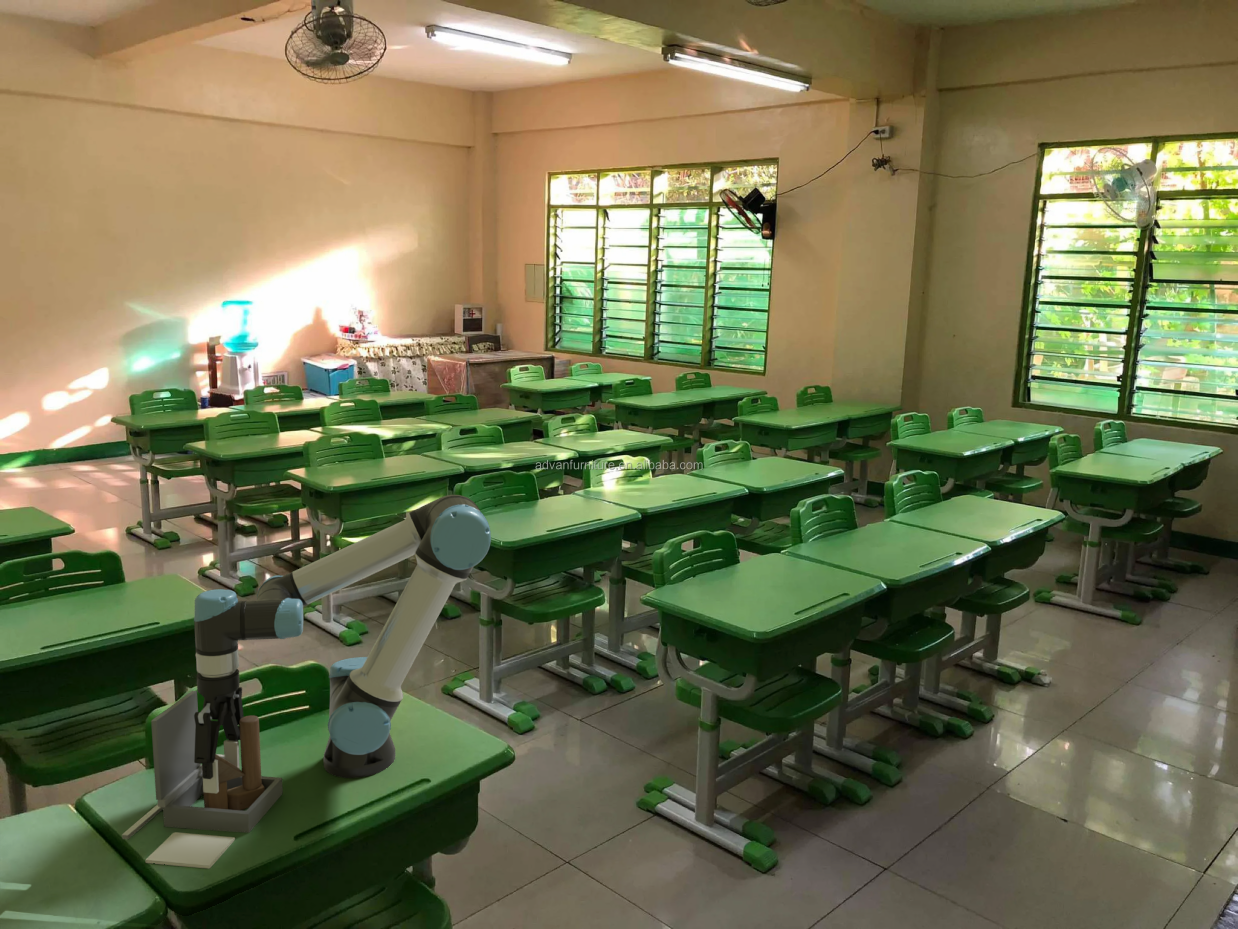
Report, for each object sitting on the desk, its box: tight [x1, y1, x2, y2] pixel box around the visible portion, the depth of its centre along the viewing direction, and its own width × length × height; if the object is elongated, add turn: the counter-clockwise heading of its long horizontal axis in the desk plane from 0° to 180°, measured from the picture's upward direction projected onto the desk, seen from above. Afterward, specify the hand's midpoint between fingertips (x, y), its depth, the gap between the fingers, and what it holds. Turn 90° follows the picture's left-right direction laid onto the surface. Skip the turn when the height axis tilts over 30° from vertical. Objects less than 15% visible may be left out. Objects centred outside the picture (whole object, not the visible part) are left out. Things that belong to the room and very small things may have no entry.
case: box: [150, 690, 284, 833], centre depth 186 cm, size 18×15×21 cm
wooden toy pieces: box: [202, 715, 265, 811], centre depth 186 cm, size 4×11×18 cm, turn 130°
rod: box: [121, 803, 163, 840], centre depth 182 cm, size 12×1×1 cm, turn 173°
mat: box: [145, 832, 236, 870], centre depth 173 cm, size 12×9×1 cm
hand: (221, 781), depth 186 cm, fingers closed on wooden toy pieces, 7 cm apart
